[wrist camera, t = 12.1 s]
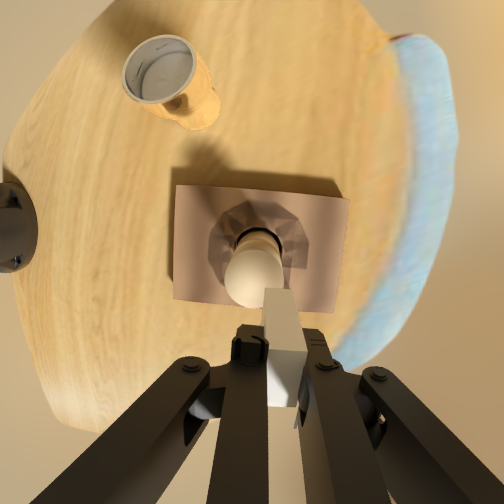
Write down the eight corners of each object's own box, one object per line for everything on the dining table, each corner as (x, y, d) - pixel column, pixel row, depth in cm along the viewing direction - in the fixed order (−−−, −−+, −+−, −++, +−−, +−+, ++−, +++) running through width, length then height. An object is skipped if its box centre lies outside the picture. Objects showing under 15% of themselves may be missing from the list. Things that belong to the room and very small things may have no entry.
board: (179, 291, 40) (173, 299, 38) (182, 184, 37) (176, 184, 34) (329, 304, 40) (333, 313, 37) (343, 198, 37) (349, 199, 34)
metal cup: (168, 134, 36) (114, 110, 21) (173, 83, 34) (125, 38, 20) (222, 133, 36) (195, 104, 21) (226, 81, 34) (203, 28, 20)
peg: (238, 263, 39) (223, 306, 25) (240, 225, 38) (225, 249, 24) (276, 266, 39) (281, 310, 25) (279, 228, 38) (286, 253, 24)
